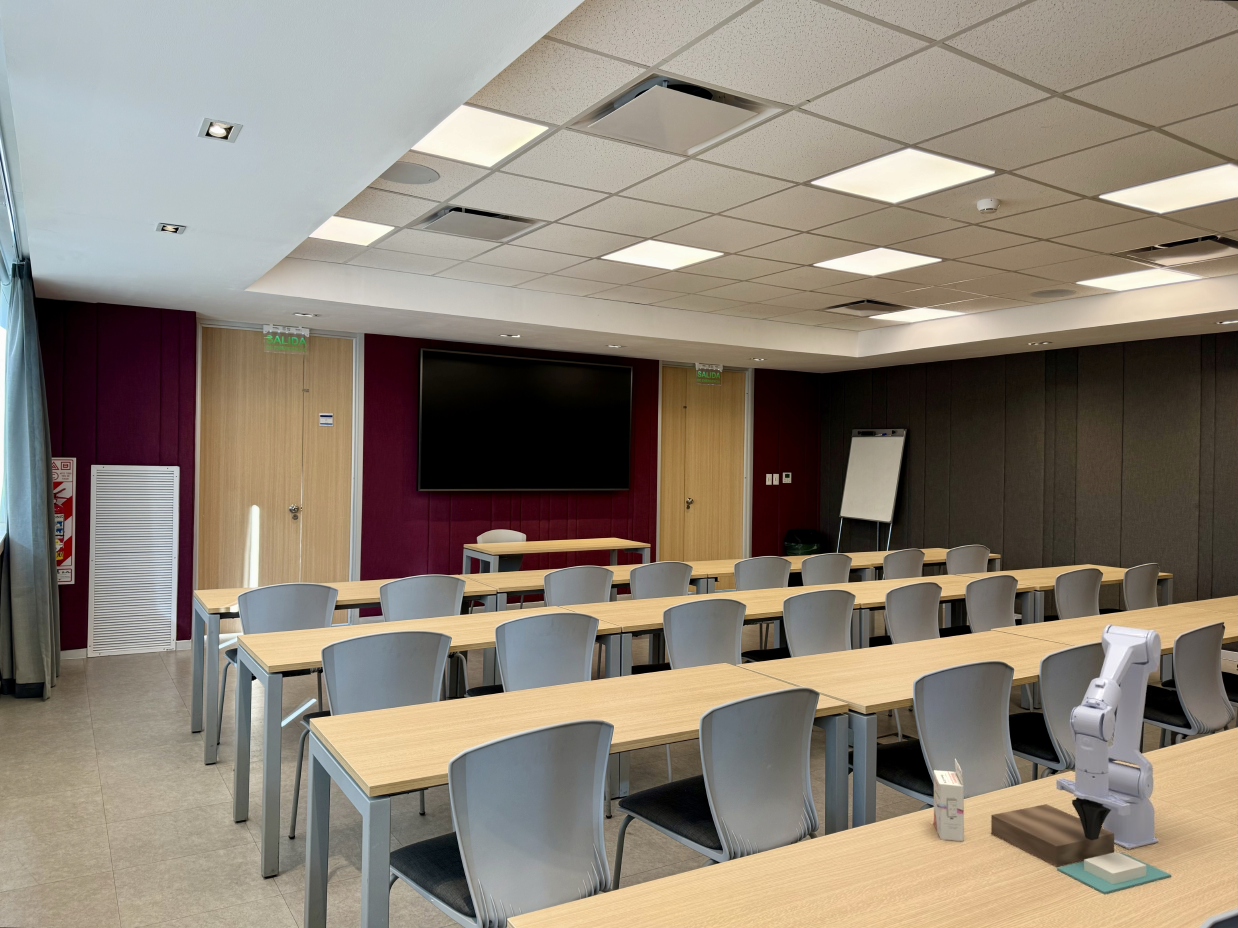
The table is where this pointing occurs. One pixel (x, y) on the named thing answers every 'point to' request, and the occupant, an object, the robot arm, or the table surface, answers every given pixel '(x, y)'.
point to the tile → (1115, 867)
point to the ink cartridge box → (949, 804)
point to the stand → (1050, 835)
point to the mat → (1106, 887)
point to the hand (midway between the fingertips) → (1091, 838)
